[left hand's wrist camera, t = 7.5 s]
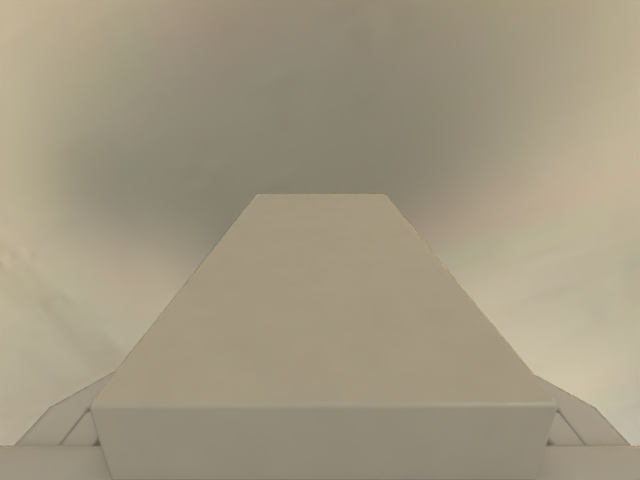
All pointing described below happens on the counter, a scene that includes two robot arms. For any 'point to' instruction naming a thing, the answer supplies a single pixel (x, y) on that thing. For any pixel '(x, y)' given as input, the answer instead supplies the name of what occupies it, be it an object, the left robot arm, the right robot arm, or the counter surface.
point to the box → (322, 361)
